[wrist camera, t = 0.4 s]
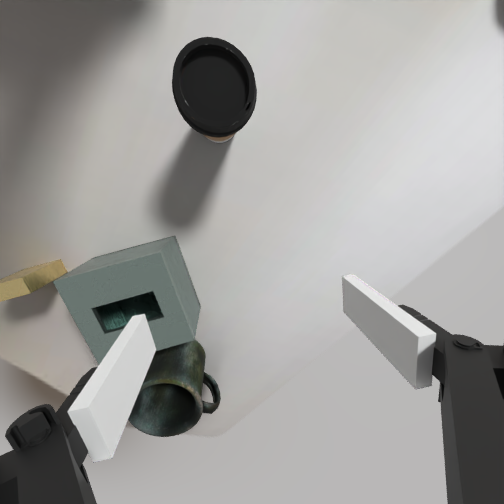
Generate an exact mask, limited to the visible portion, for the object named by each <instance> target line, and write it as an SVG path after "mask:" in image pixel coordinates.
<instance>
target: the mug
mask: <svg viewBox="0 0 504 504" xmlns="http://www.w3.org/2000/svg"><path fill="white" fill-rule="evenodd" d="M204 366H205V352H204V349H203V347H202V346H201V345H200V343H198V342H197V341H196V340H195V339H194V340H193V341H189V342H186V343H182V344H179V345H176V346H172V347H169V348H165V349H162V350H158V351H156V352H155V354H154V357H153V359H152V361H151V364H150V366H149V369H148V371H147V374H146V376H145V379H144V381H143V384H142V386H141V389H140V391H139V394H138V396H137V399H136V401H135V403H134V406H133V408H132V411H131V413H130V416H129V418H128V419H129V421H130V422H131V424H132V425H133V426H134V427H135V428H137V429H138V430H140V431H142V432H144V433H146V434H149V435H153V436H160V437H168V436H175V435H179V434H181V433H184V432H186V431H188V430H189V429H191V428H192V427H193V426H194V425H196V424H197V422H198V421H199V419H200V417H201V415H202V413H209V414H212V413H213V412H214V411H215V410H216V409H217V408H218V406H219V404H220V399H221V398H220V391H219V388H218V385H217V383H216V381H215V380H214V379H213V378H212V377H211V376H210V375H208V374H207V373H205V372H204ZM203 383H204V384H206V385H207V386H208V387H209V389H210V391H211V393H212V396H213V402H214V403H208V402H204V401H202V399H201V395H202V385H203Z"/></svg>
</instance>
